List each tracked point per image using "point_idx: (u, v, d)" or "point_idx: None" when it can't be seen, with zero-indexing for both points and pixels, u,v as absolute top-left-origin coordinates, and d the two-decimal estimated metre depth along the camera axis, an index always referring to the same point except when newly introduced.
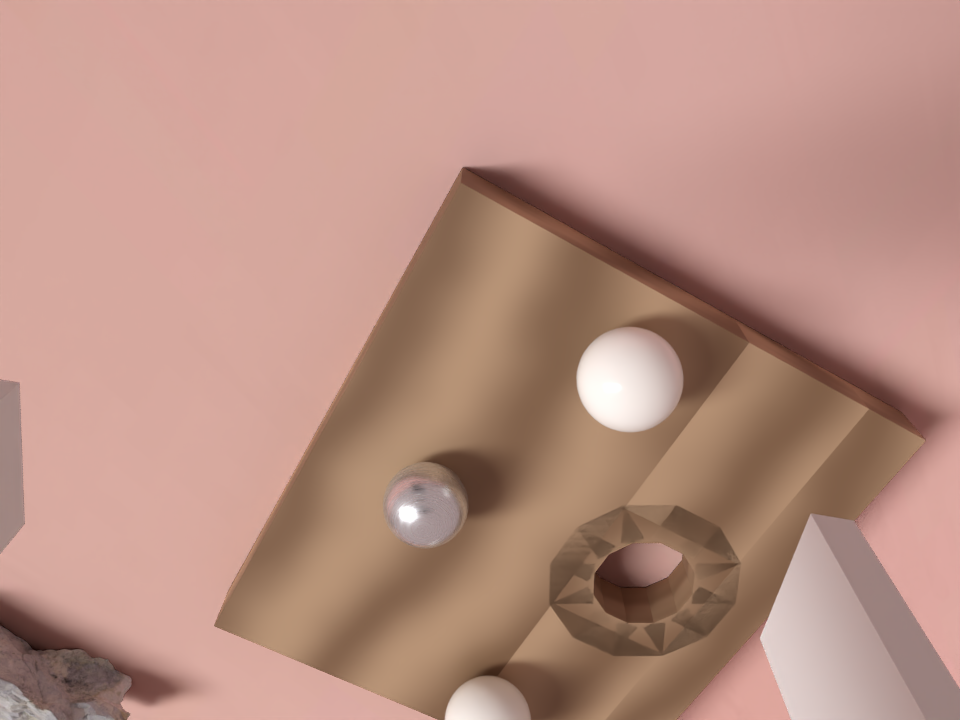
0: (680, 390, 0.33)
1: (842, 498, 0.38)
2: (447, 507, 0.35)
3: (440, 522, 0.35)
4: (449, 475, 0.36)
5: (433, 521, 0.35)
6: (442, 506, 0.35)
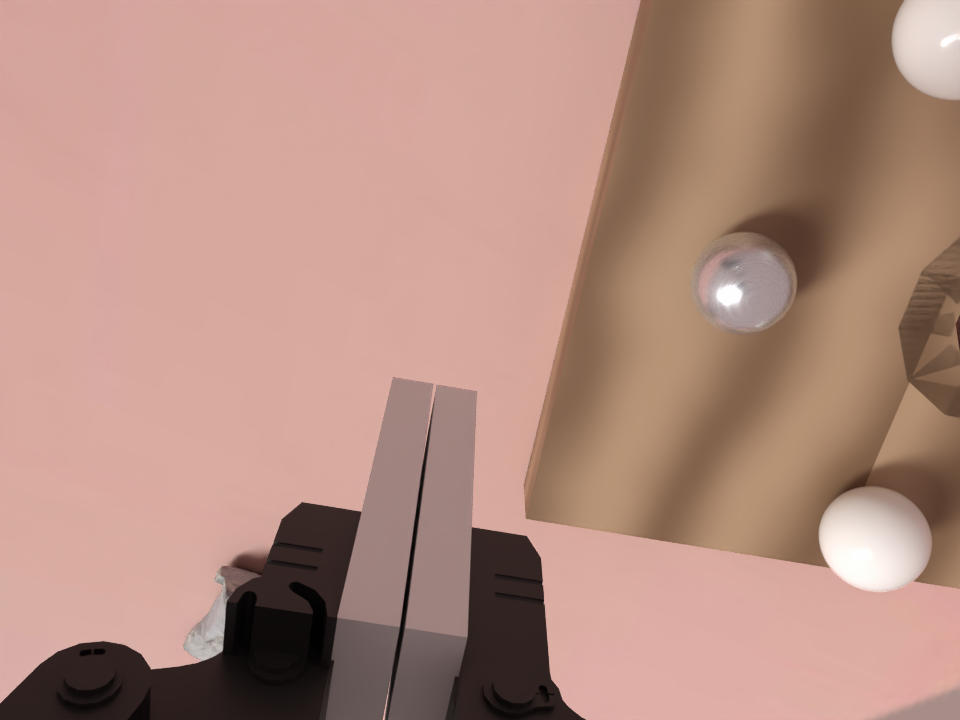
0: None
1: None
2: (777, 267, 0.29)
3: (774, 286, 0.29)
4: (763, 236, 0.30)
5: (766, 287, 0.29)
6: (771, 267, 0.29)
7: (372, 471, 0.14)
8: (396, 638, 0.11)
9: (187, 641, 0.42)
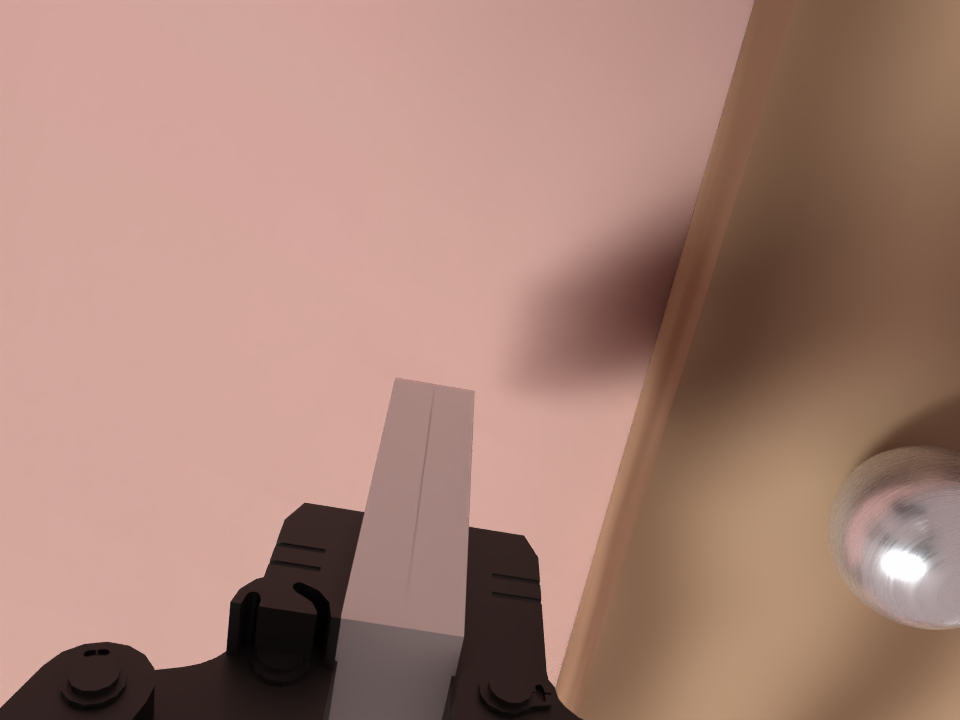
0: None
1: None
2: None
3: None
4: None
5: None
6: None
7: (375, 472, 0.14)
8: (393, 638, 0.11)
9: None
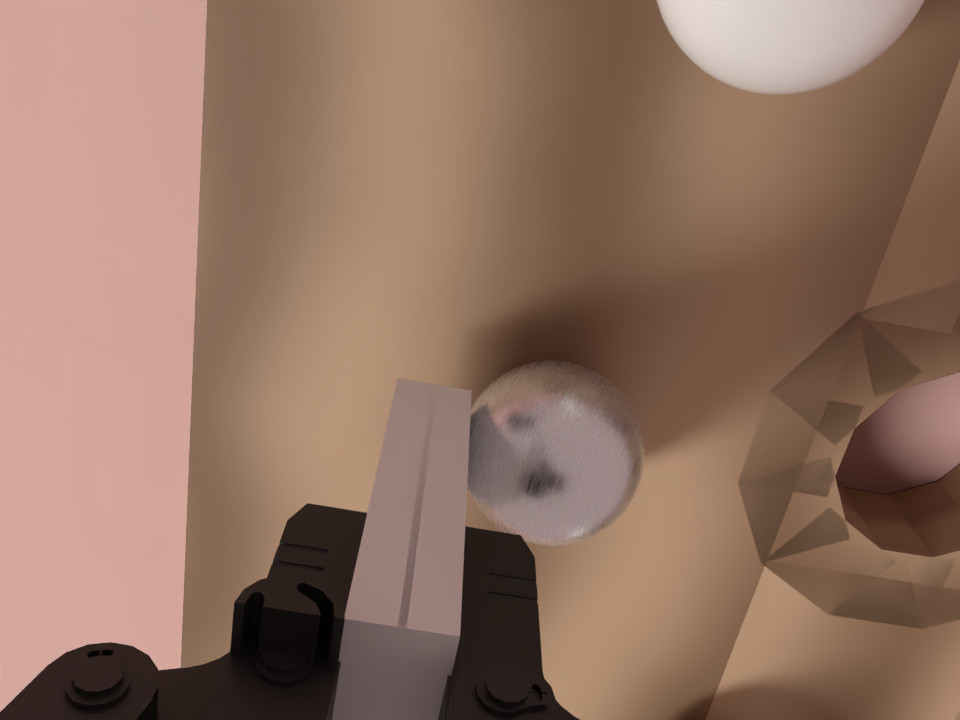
0: None
1: None
2: (635, 415, 0.17)
3: None
4: (577, 370, 0.16)
5: (643, 456, 0.17)
6: (636, 421, 0.17)
7: (377, 472, 0.14)
8: (389, 637, 0.11)
9: None
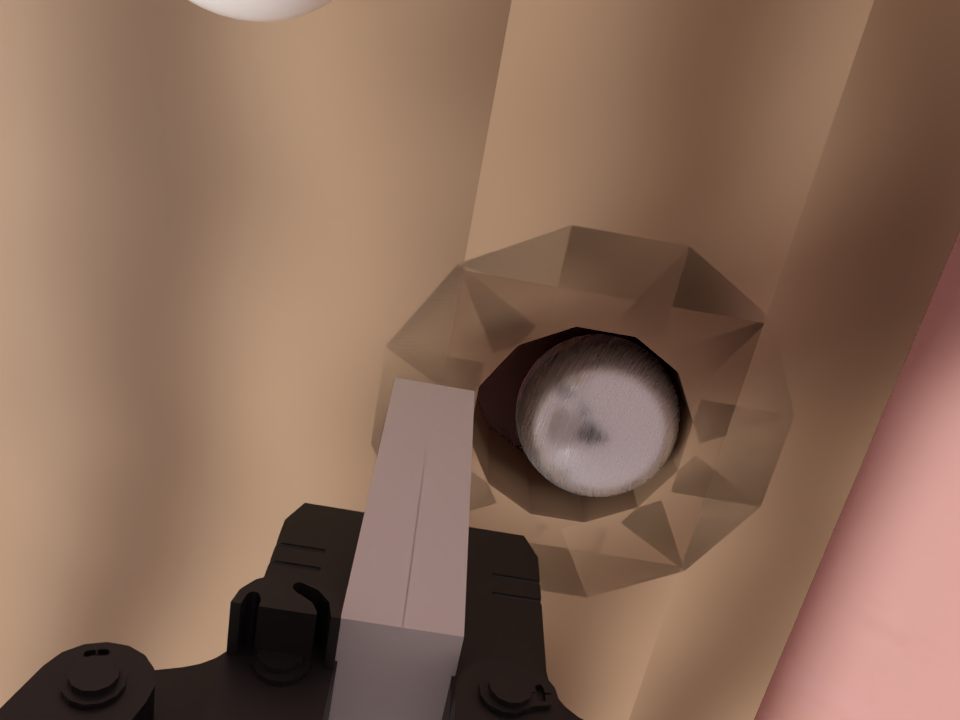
0: None
1: (955, 77, 0.16)
2: (672, 387, 0.19)
3: (679, 415, 0.19)
4: (622, 344, 0.19)
5: (677, 424, 0.19)
6: (673, 393, 0.19)
7: (375, 472, 0.14)
8: (393, 637, 0.11)
9: None
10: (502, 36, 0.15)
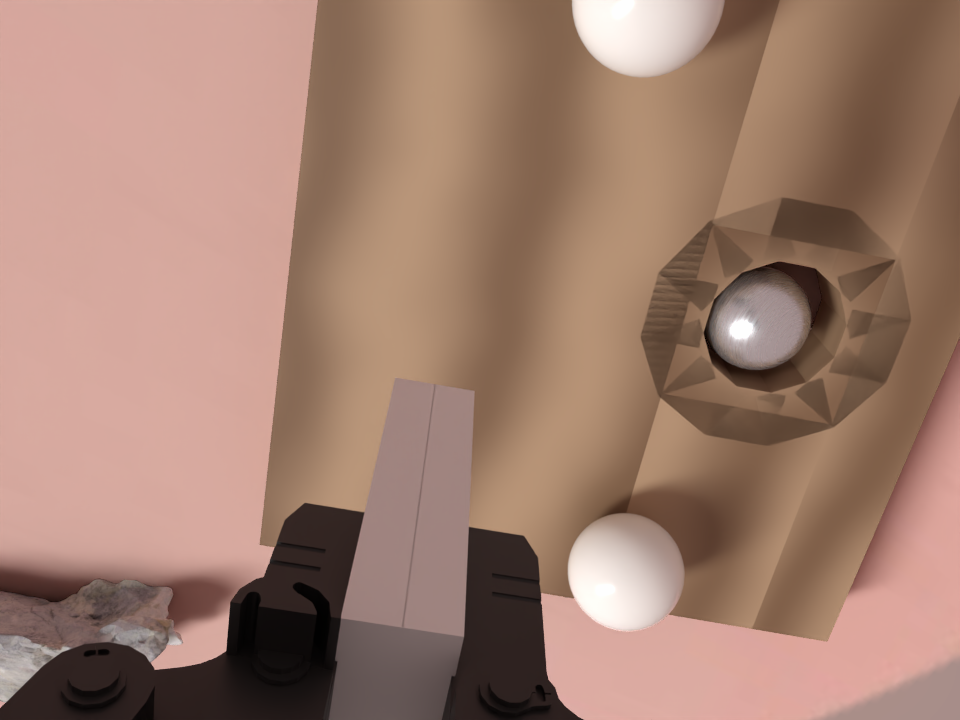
0: None
1: None
2: (804, 303, 0.29)
3: (807, 323, 0.29)
4: (775, 271, 0.29)
5: (802, 326, 0.29)
6: (802, 305, 0.29)
7: (375, 472, 0.14)
8: (393, 637, 0.11)
9: None
10: (752, 84, 0.26)
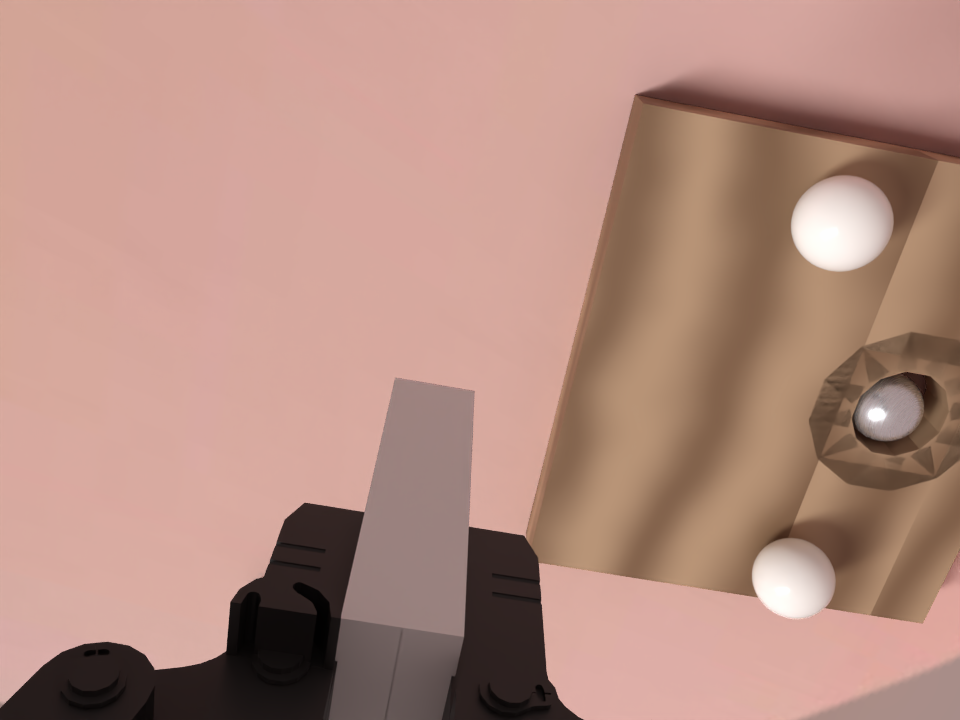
0: (892, 216, 0.36)
1: None
2: (920, 398, 0.43)
3: (922, 412, 0.43)
4: (900, 375, 0.43)
5: (919, 414, 0.43)
6: (919, 400, 0.43)
7: (375, 471, 0.14)
8: (393, 637, 0.11)
9: None
10: (896, 263, 0.40)
